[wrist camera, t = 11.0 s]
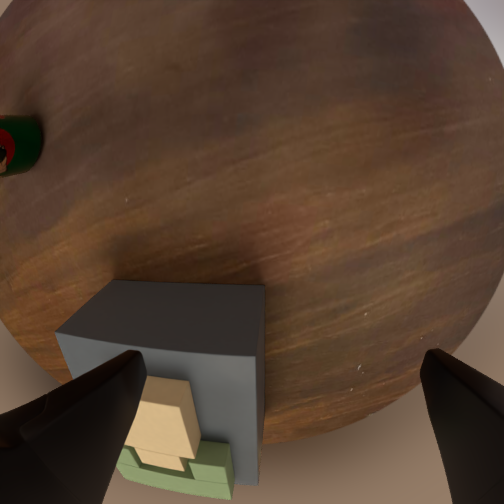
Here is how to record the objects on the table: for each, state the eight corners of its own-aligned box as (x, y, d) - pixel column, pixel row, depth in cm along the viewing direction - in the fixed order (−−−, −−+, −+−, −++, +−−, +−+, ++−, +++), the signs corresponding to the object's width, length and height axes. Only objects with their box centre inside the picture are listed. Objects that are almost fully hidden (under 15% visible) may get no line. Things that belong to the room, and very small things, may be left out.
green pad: (229, 442, 16) (225, 467, 14) (234, 479, 18) (231, 499, 16) (110, 421, 17) (99, 441, 15) (132, 461, 19) (124, 478, 17)
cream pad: (189, 380, 14) (179, 407, 13) (205, 451, 17) (199, 474, 15) (108, 367, 15) (92, 389, 13) (138, 439, 17) (129, 459, 15)
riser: (264, 284, 21) (256, 356, 14) (264, 416, 26) (258, 485, 18) (112, 279, 22) (54, 331, 15) (146, 403, 27) (118, 461, 19)
